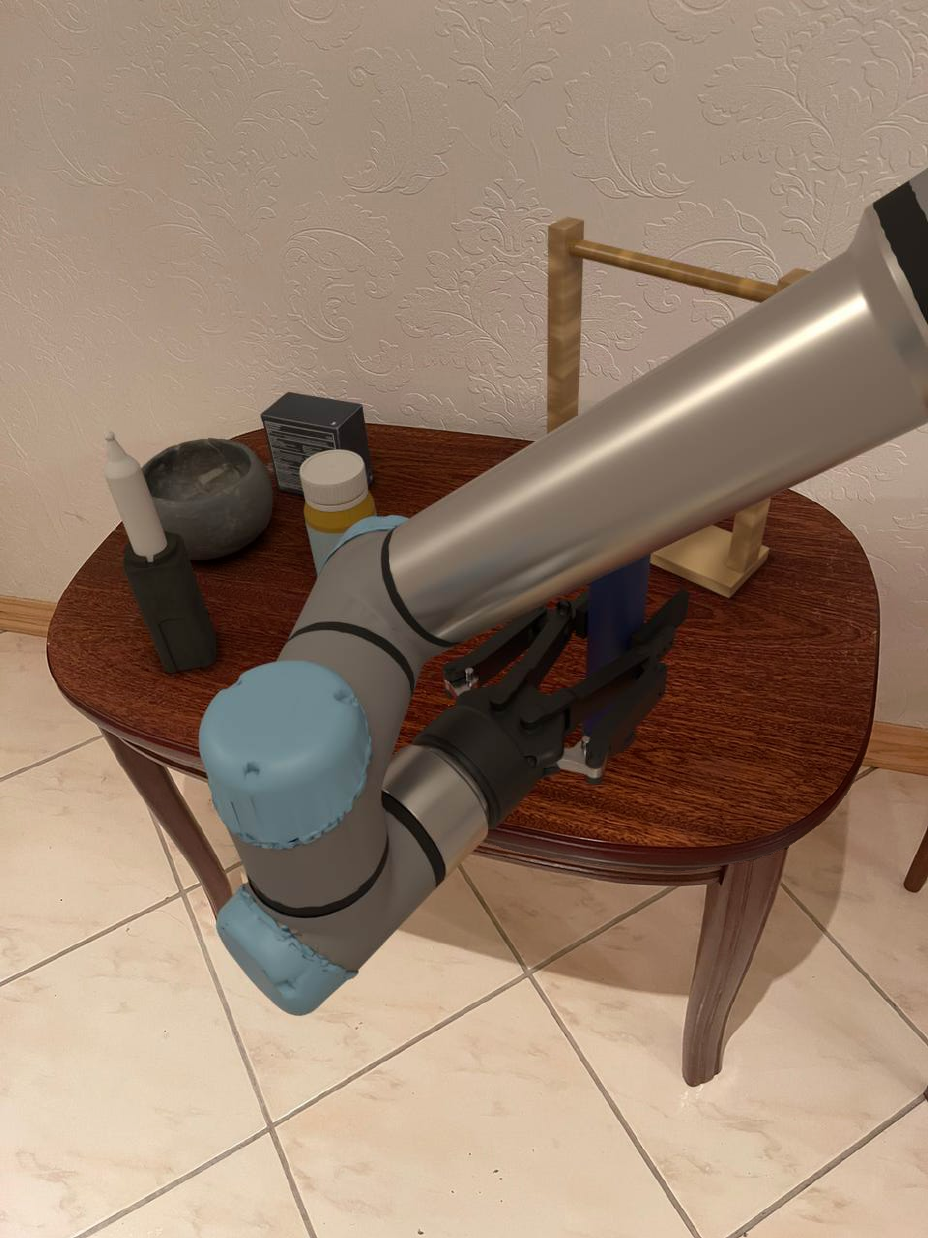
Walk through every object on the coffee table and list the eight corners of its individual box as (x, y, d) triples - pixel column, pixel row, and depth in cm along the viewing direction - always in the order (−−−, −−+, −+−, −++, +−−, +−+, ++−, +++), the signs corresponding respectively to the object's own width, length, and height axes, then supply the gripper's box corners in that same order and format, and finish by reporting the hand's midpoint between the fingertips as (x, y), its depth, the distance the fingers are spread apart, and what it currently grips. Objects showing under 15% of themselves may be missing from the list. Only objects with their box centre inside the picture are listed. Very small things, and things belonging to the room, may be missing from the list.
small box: (377, 478, 109) (365, 401, 102) (351, 507, 105) (337, 429, 98) (303, 463, 112) (288, 387, 105) (276, 491, 108) (257, 414, 101)
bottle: (309, 601, 93) (281, 480, 82) (340, 561, 97) (317, 442, 87) (369, 615, 90) (347, 493, 80) (397, 573, 95) (380, 453, 85)
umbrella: (615, 763, 70) (637, 489, 52) (569, 736, 72) (576, 465, 55) (683, 690, 75) (723, 418, 57) (638, 667, 77) (664, 399, 60)
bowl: (135, 533, 103) (107, 459, 97) (255, 490, 108) (236, 418, 102) (172, 602, 94) (144, 526, 87) (302, 552, 99) (285, 476, 92)
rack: (767, 559, 93) (832, 262, 72) (728, 598, 89) (786, 295, 68) (574, 479, 106) (582, 208, 85) (533, 511, 102) (531, 233, 81)
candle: (163, 675, 86) (71, 452, 69) (165, 640, 89) (78, 420, 73) (216, 666, 86) (137, 442, 69) (216, 631, 90) (142, 411, 73)
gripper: (362, 758, 62) (564, 584, 74) (559, 899, 53) (752, 675, 65) (345, 684, 57) (565, 511, 69) (560, 826, 48) (769, 599, 60)
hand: (655, 591), depth 67 cm, fingers closed on umbrella, 4 cm apart
